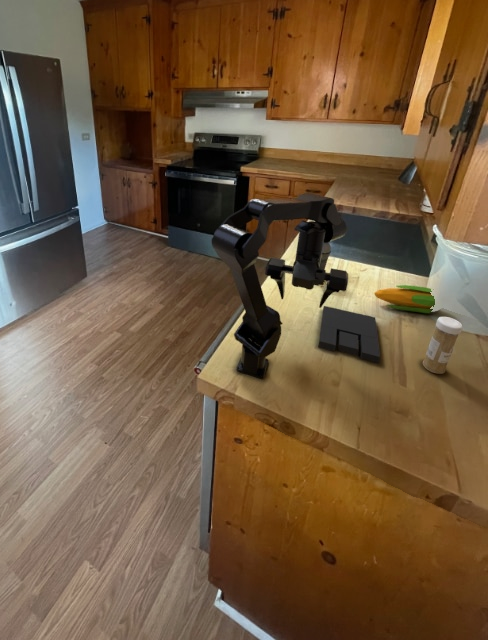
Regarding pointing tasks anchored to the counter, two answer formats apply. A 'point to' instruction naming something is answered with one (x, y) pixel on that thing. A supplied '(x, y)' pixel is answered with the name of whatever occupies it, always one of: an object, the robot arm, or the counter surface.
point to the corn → (408, 298)
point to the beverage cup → (325, 255)
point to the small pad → (348, 343)
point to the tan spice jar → (442, 344)
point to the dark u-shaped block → (350, 331)
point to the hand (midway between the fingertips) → (300, 302)
